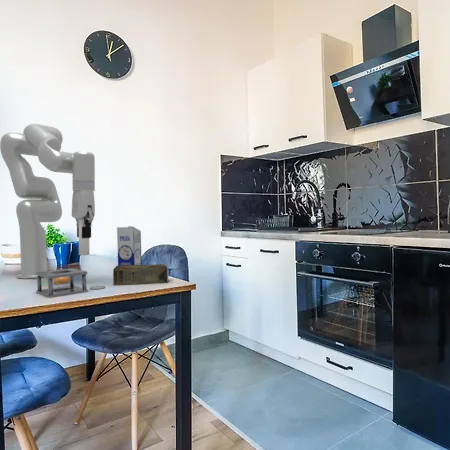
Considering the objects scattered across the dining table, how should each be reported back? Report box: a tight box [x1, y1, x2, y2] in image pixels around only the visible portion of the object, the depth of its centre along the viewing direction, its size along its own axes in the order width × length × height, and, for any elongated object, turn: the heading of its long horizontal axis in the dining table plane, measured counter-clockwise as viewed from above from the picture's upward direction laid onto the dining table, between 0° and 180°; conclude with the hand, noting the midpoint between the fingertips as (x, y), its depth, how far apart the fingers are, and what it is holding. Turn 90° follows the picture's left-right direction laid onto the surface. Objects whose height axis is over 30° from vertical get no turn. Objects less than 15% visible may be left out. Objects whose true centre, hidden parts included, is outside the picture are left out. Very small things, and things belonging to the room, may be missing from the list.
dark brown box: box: [112, 263, 169, 286], centre depth 137 cm, size 8×19×7 cm, turn 98°
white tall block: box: [78, 216, 90, 256], centre depth 137 cm, size 4×4×16 cm
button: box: [53, 276, 70, 285], centre depth 122 cm, size 4×4×2 cm
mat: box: [89, 285, 106, 291], centre depth 127 cm, size 5×5×1 cm
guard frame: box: [35, 267, 89, 298], centre depth 122 cm, size 12×12×6 cm
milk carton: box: [116, 225, 143, 266], centre depth 150 cm, size 7×7×20 cm
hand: (84, 237), depth 137 cm, fingers closed on white tall block, 3 cm apart
